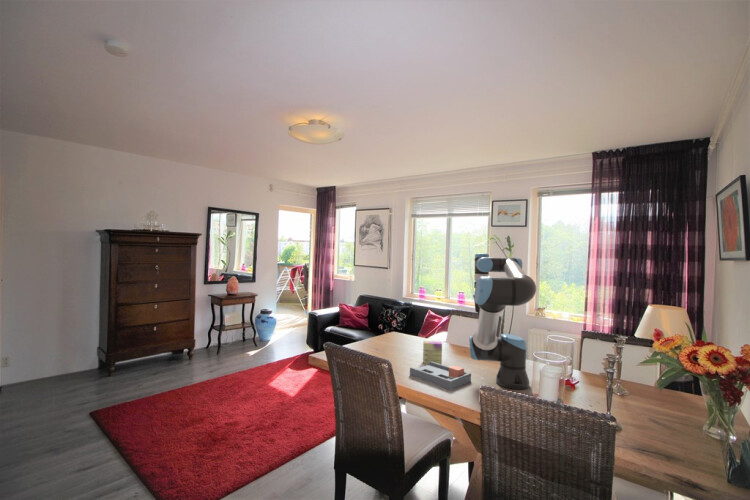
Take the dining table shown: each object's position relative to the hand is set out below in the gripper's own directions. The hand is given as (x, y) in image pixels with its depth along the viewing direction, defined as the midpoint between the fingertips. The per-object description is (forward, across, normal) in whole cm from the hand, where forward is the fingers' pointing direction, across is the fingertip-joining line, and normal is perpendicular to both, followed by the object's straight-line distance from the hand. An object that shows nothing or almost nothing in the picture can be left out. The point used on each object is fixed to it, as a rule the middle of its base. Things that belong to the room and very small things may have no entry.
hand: (480, 324), depth 195 cm
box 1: (+25, +11, -24) cm, 36 cm away
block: (+22, +26, +2) cm, 34 cm away
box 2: (+24, +29, -6) cm, 38 cm away
